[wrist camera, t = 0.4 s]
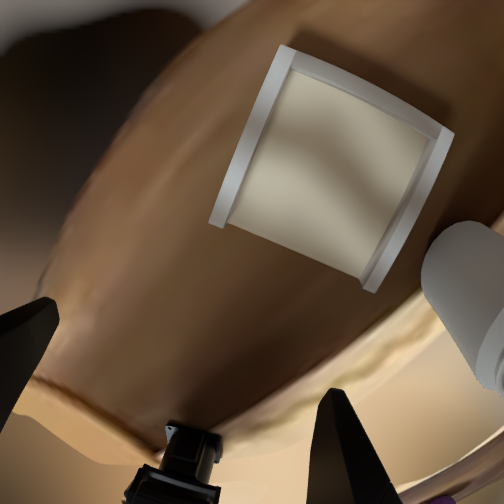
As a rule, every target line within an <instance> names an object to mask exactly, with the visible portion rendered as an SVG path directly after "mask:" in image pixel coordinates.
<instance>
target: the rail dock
mask: <svg viewBox="0 0 504 504" xmlns="http://www.w3.org/2000/svg"><path fill="white" fill-rule="evenodd" d="M454 135H455V134H454V133H453V132H451V131H450V130H448V129H447V128H445V127H444V126H442V125H441V124H439V123H438V122H436V121H435V120H433V119H432V118H430V117H429V116H427V115H426V114H424V113H422V112H421V111H419V110H418V109H416V108H414V107H413V106H411V105H409V104H408V103H406V102H404V101H403V100H401V99H399V98H397V97H396V96H394V95H392V94H390V93H388V92H387V91H385V90H383V89H381V88H379V87H377V86H375V85H373V84H371V83H370V82H368V81H366V80H364V79H362V78H360V77H357V76H355V75H353V74H351V73H349V72H347V71H345V70H343V69H340V68H338V67H336V66H334V65H331V64H329V63H327V62H325V61H322V60H320V59H317V58H315V57H312V56H310V55H307V54H305V53H302V52H300V51H297V50H294V49H292V48H289V47H286V46H283V45H280V47H279V49H278V51H277V54H276V56H275V58H274V60H273V63H272V65H271V67H270V69H269V72H268V74H267V76H266V78H265V81H264V83H263V85H262V88H261V90H260V92H259V95H258V97H257V99H256V102H255V104H254V107H253V109H252V111H251V114H250V116H249V119H248V121H247V123H246V126H245V128H244V131H243V133H242V136H241V138H240V141H239V143H238V146H237V148H236V151H235V153H234V156H233V158H232V161H231V164H230V166H229V169H228V171H227V174H226V176H225V179H224V182H223V184H222V187H221V190H220V192H219V195H218V198H217V200H216V203H215V206H214V208H213V211H212V214H211V217H210V219H209V222H208V223H210V224H212V225H215V226H217V227H220V228H222V229H223V228H224V226H225V225H226V224H227V222H228V223H230V224H232V225H235V226H237V227H240V228H242V229H244V230H247V231H249V232H252V233H254V234H256V235H259V236H261V237H263V238H266V239H268V240H270V241H273V242H275V243H277V244H280V245H282V246H285V247H287V248H289V249H292V250H294V251H296V252H299V253H301V254H303V255H305V256H308V257H310V258H312V259H315V260H317V261H319V262H322V263H324V264H326V265H329V266H331V267H333V268H335V269H338V270H340V271H342V272H345V273H347V274H349V275H351V276H354V277H356V278H358V279H359V280H360V283H361V285H362V288H363V289H365V290H368V291H370V292H372V293H374V294H375V293H376V291H377V289H378V288H379V286H380V284H381V283H382V281H383V279H384V278H385V276H386V274H387V273H388V271H389V269H390V267H391V266H392V264H393V262H394V260H395V259H396V257H397V255H398V253H399V251H400V250H401V248H402V246H403V244H404V242H405V240H406V239H407V237H408V235H409V233H410V231H411V229H412V227H413V225H414V223H415V221H416V219H417V217H418V215H419V213H420V211H421V209H422V207H423V205H424V203H425V201H426V199H427V197H428V195H429V193H430V191H431V189H432V186H433V184H434V182H435V180H436V178H437V175H438V173H439V171H440V169H441V166H442V164H443V162H444V159H445V157H446V155H447V152H448V150H449V147H450V145H451V143H452V140H453V137H454Z"/></svg>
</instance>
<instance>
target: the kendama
mask: <svg viewBox="0 0 504 504" xmlns="http://www.w3.org/2000/svg"><path fill="white" fill-rule="evenodd" d="M430 504H456V502H455V500H454V499H453V498H451V497H449V496H441V497H438V498H436V499H434V500H432V501H431V502H430Z"/></svg>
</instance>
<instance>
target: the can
mask: <svg viewBox="0 0 504 504" xmlns="http://www.w3.org/2000/svg"><path fill="white" fill-rule="evenodd" d="M421 286H422V289H423V292H424V295H425V297H426V299H427V300H428V302H429V303H430V305H431V306H432V308H433V309H434V311H435V312H436V314H437V315H438V317H439V318H440V320H441V321H442V323H443V324H444V326H445V327H446V329H447V330H448V332H449V333H450V335H451V336H452V338H453V340H454V341H455V343H456V345H457V346H458V348H459V349H460V351H461V353H462V354H463V356H464V358H465V359H466V361H467V363H468V364H469V366H470V368H471V370H472V371H473V373H474V375H475V377H476V378H477V380H478V381H479V382H480V384H481V385H482V386H483V387H484V388H487V389H491V390H497V391H498V393H499V394H500V396H501V397H504V237H503V236H501V235H500V234H498V233H496V232H495V231H493V230H492V229H490V228H488V227H487V226H485V225H483V224H481V223H479V222H474V221H464V222H459V223H455V224H454V225H452V226H450V227H449V228H447V229H445V230H444V231H443V232H442V233H441V234H440V235H439V236H438V237H437V238H436V239H435V240H434V241H433V243H432V244H431V246H430V248H429V250H428V252H427V254H426V255H425V258H424V262H423V266H422V270H421Z"/></svg>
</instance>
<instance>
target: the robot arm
mask: <svg viewBox="0 0 504 504" xmlns="http://www.w3.org/2000/svg"><path fill="white" fill-rule="evenodd" d="M59 320H60V318H59V313H58V309H57V305H56V302H55V300H53V299H51V298H49V297H42V298H39V299H37V300H35V301H32V302H30V303H28V304H25V305H23V306H21V307H18V308H16V309H13V310H11V311H9V312H7V313H4V314H2V315H0V433H1V431H2V429H3V427H4V425H5V423H6V421H7V419H8V417H9V415H10V413H11V411H12V409H13V408H14V406H15V404H16V402H17V400H18V398H19V397H20V395H21V393H22V391H23V389H24V388H25V386H26V384H27V382H28V381H29V379H30V377H31V376H32V374H33V372H34V370H35V369H36V367H37V365H38V364H39V362H40V360H41V359H42V357H43V355H44V353H45V351H46V348H47V346H48V344H49V342H50V340H51V338H52V336H53V334H54V332H55V330H56V328H57V326H58V324H59ZM166 435H167V442H168V446H167V448H166V451H165V453H164V456H163V458H162V461H161V464H160V466H159V469H156V468H153V467H151V466H149V465H147V464H144V465H143V467H142V468H139V469H138V472H137V474H136V476H135V478H134V480H133V481H132V482H131V484H130V485H129V486H128V488H127V489H126V490H125V492H124V496H125V498H126V504H218V503H219V497H220V492H221V487H219V486H212V485H208V483H209V479H210V475H211V471H212V468H213V464H214V463H216V464H217V463H219V461H220V452H221V441H222V437H221V436H220V435H216V434H211V433H207V432H202V431H198V430H194V429H189V428H185V427H181V426H178V425H174V424H170V423H168V424H167V425H166ZM306 504H403V503H402V501H401V499H400V497H399V496H398V494H397V492H396V490H395V488H394V486H393V484H392V483H391V482H390V479H389V477H388V475H387V473H386V471H385V469H384V467H383V465H382V463H381V461H380V459H379V457H378V455H377V453H376V451H375V449H374V447H373V445H372V443H371V442H370V440H369V438H368V436H367V434H366V432H365V430H364V428H363V426H362V424H361V422H360V420H359V418H358V417H357V415H356V413H355V411H354V409H353V407H352V405H351V403H350V401H349V399H348V397H347V396H346V394H345V392H344V391H343V390H342V389H337V388H330V389H329V390H328V391H327V393H326V394H325V395H324V397H323V398H322V400H321V401H320V403H319V405H318V410H317V416H316V422H315V428H314V433H313V439H312V444H311V450H310V463H309V478H308V489H307V501H306Z"/></svg>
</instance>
